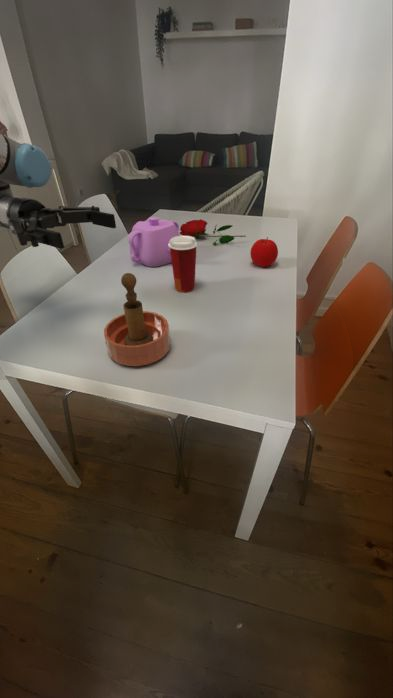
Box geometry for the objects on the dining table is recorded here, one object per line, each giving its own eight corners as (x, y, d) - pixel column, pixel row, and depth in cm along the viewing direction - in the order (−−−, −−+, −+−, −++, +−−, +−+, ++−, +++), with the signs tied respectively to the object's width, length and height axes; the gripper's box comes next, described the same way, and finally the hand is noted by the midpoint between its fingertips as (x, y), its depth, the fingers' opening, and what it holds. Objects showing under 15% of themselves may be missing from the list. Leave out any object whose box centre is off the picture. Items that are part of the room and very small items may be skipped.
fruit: (249, 269, 108) (251, 240, 102) (249, 259, 115) (252, 231, 109) (276, 270, 107) (280, 241, 101) (275, 260, 114) (279, 232, 108)
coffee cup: (201, 283, 100) (201, 236, 91) (192, 295, 94) (191, 246, 85) (177, 280, 103) (174, 233, 93) (167, 292, 97) (162, 243, 87)
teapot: (138, 248, 126) (133, 210, 118) (190, 248, 125) (189, 210, 116) (126, 267, 111) (119, 226, 103) (185, 268, 110) (183, 226, 101)
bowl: (101, 368, 69) (95, 346, 66) (117, 331, 81) (113, 310, 77) (166, 369, 69) (163, 347, 65) (173, 332, 80) (171, 311, 76)
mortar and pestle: (130, 336, 77) (117, 266, 66) (156, 338, 76) (148, 268, 65) (121, 353, 72) (106, 280, 61) (149, 356, 71) (139, 282, 60)
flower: (248, 215, 119) (181, 213, 132) (240, 234, 116) (171, 230, 129) (252, 234, 126) (188, 230, 140) (244, 252, 123) (179, 246, 136)
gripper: (72, 218, 82) (134, 231, 73) (-23, 249, 66) (40, 271, 57) (65, 186, 78) (129, 196, 68) (-41, 211, 61) (25, 228, 52)
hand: (89, 230), depth 62 cm, fingers open, 13 cm apart
